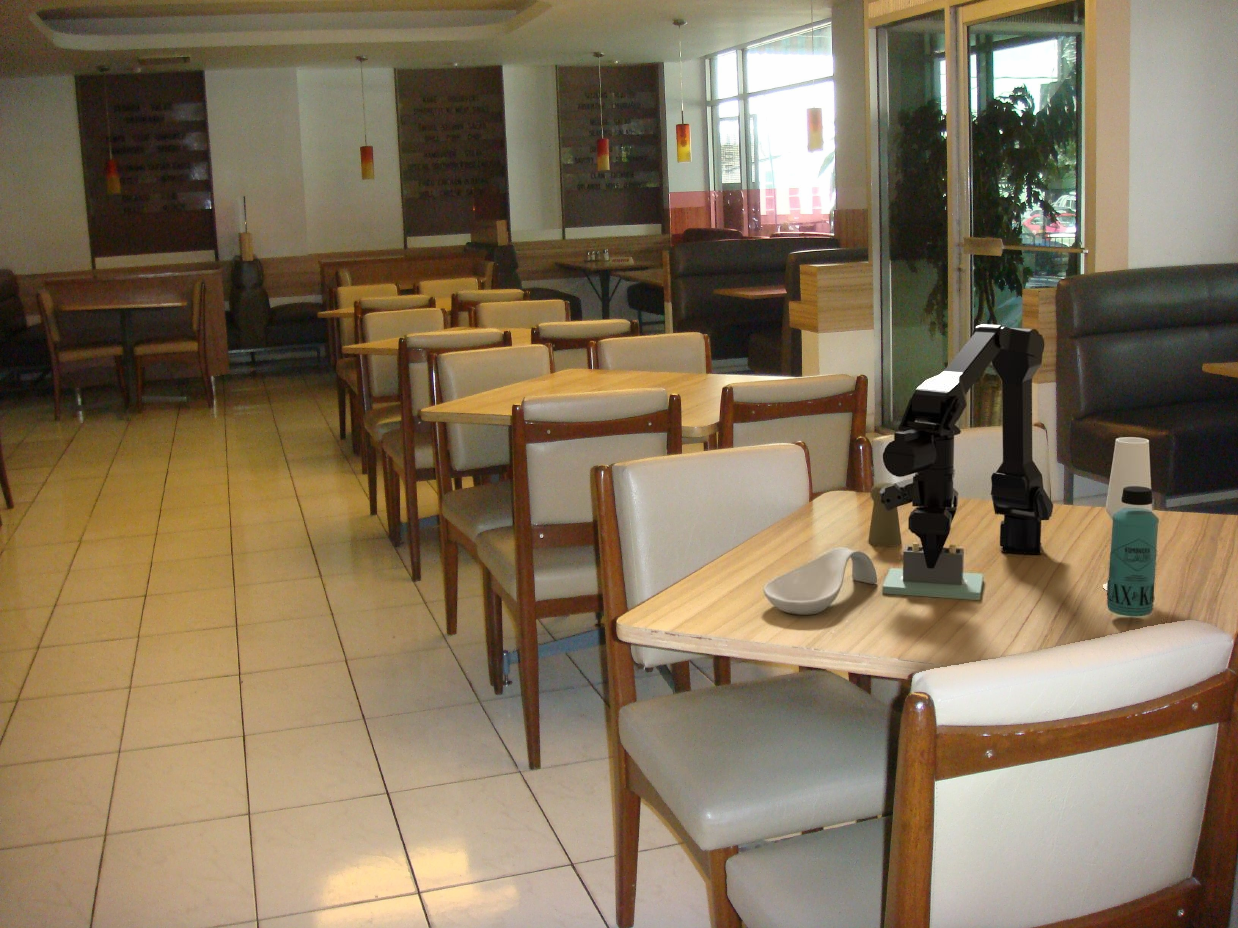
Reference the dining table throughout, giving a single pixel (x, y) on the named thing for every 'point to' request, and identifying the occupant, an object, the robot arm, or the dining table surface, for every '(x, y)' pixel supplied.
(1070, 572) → the dining table surface
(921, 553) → the plug housing
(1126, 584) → the beverage bottle
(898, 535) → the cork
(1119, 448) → the white vase
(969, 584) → the header board
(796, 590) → the spoon rest
